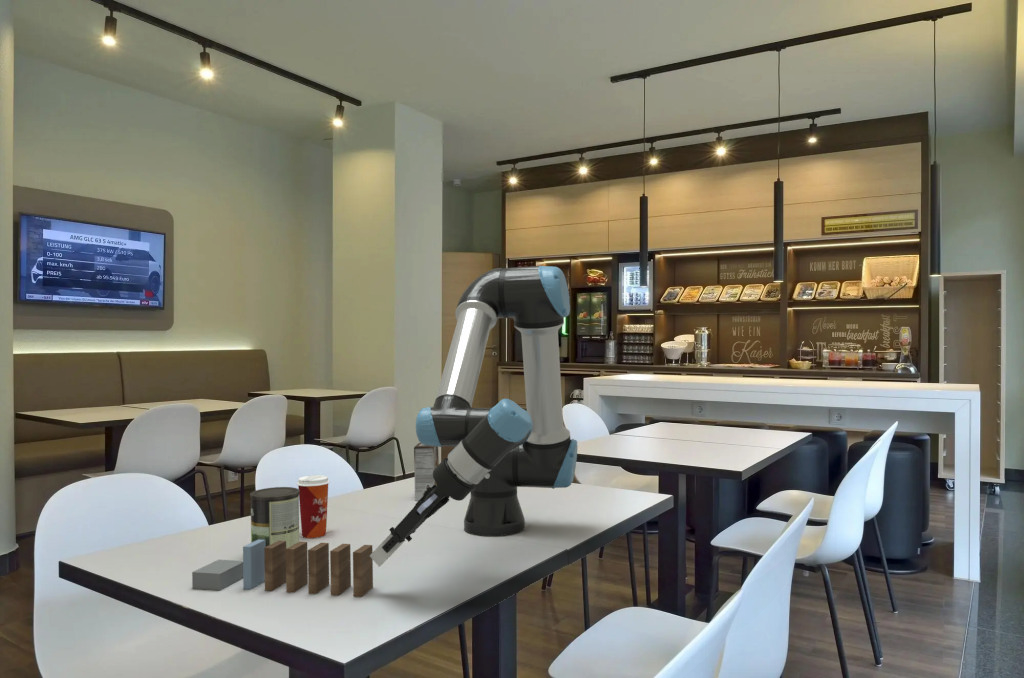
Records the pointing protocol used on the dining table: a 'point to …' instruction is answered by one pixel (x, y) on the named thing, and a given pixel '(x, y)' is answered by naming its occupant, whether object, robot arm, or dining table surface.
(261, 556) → the domino
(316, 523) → the paper cup
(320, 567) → the domino
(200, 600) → the dining table surface
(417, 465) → the coffee box
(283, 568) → the domino
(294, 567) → the domino
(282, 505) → the coffee can
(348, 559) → the domino
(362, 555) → the domino
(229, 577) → the block
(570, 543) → the dining table surface
